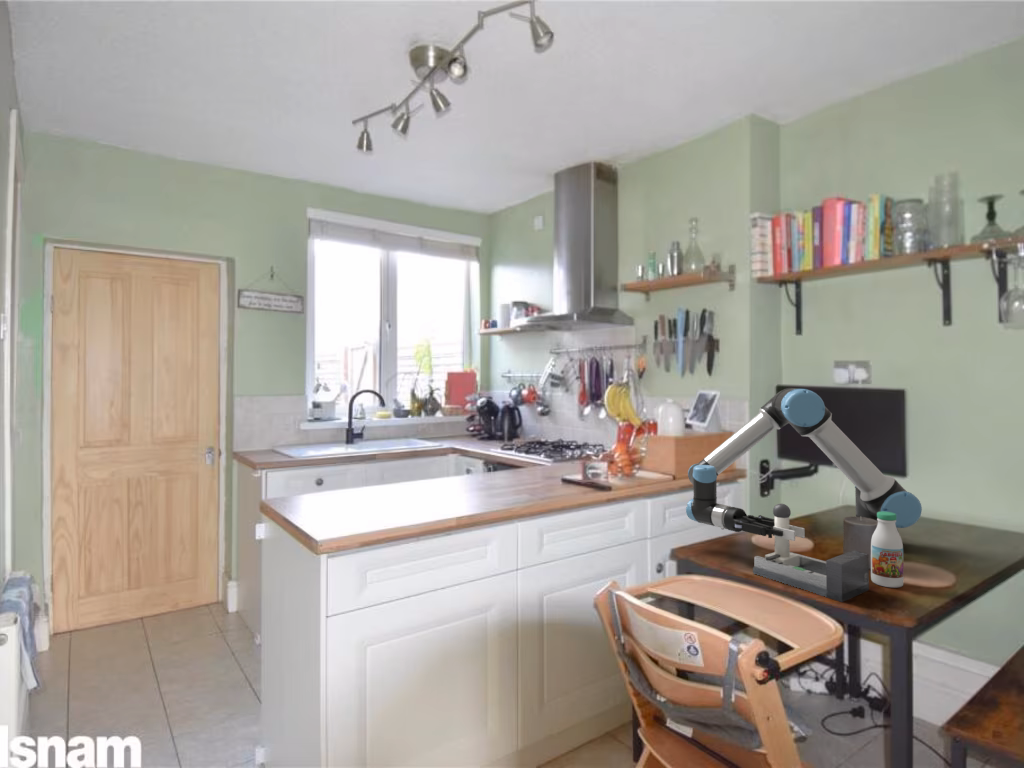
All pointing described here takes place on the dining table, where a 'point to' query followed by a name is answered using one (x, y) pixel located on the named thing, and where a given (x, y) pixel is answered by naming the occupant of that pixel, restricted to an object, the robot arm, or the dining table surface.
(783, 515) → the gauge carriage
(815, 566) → the base
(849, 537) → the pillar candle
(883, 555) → the milk bottle
